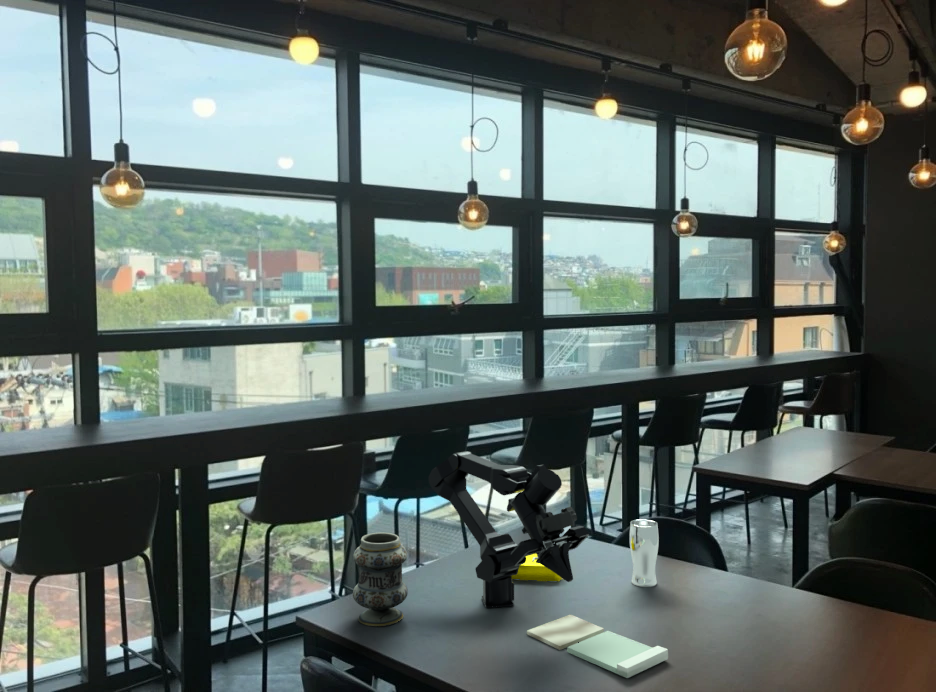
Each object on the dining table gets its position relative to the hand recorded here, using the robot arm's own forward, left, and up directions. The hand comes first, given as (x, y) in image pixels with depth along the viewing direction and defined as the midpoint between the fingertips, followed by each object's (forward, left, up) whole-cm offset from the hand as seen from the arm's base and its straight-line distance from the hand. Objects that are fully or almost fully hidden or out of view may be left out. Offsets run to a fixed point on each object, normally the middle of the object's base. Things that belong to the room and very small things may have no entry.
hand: (570, 580), depth 154 cm
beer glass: (+26, +26, -12) cm, 39 cm away
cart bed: (-1, +1, -12) cm, 12 cm away
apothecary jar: (-39, +16, -12) cm, 44 cm away
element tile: (+2, +40, -12) cm, 42 cm away
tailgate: (+2, -4, -12) cm, 12 cm away
